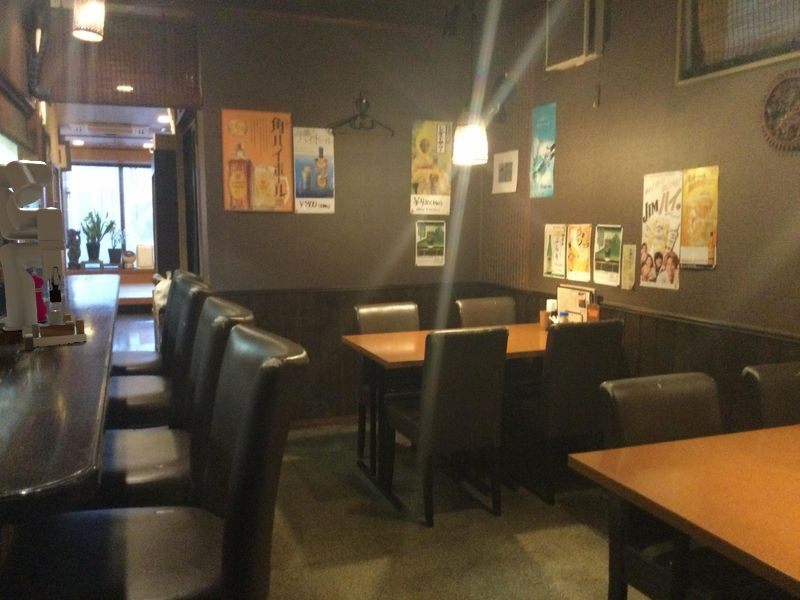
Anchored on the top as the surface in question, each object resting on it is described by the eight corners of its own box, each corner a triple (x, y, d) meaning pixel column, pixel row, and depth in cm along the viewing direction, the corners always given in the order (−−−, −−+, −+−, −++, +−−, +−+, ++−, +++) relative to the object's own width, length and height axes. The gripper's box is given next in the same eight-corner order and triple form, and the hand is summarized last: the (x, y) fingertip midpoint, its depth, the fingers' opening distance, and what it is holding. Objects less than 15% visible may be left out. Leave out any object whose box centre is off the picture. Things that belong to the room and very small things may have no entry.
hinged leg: (40, 335, 203) (39, 323, 203) (73, 332, 209) (73, 321, 208) (41, 336, 201) (40, 324, 201) (75, 333, 207) (74, 321, 206)
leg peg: (47, 334, 223) (45, 311, 222) (55, 332, 227) (53, 310, 226) (57, 334, 223) (55, 311, 222) (65, 332, 226) (63, 310, 226)
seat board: (16, 338, 215) (15, 317, 214) (75, 333, 225) (73, 313, 224) (25, 350, 192) (23, 327, 191) (90, 344, 203) (88, 322, 202)
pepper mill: (32, 323, 250) (28, 272, 247) (24, 322, 254) (20, 271, 252) (51, 321, 255) (48, 271, 253) (43, 320, 260) (39, 270, 257)
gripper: (35, 246, 212) (39, 301, 214) (41, 246, 200) (45, 304, 202) (60, 246, 216) (64, 299, 218) (68, 245, 204) (72, 302, 206)
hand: (55, 302), depth 210 cm, fingers closed
